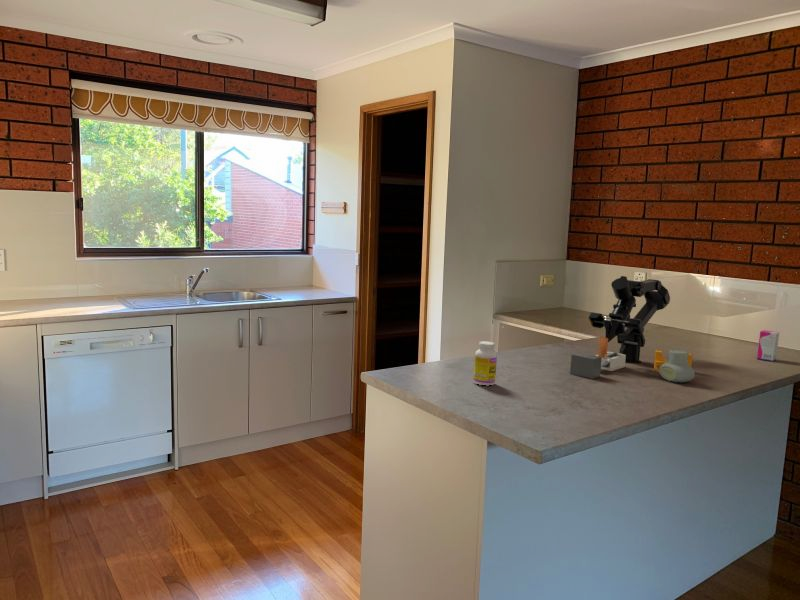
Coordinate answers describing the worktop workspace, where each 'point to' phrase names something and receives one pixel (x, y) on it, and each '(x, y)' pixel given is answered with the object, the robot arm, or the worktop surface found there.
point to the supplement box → (768, 345)
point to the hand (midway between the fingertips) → (606, 341)
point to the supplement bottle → (485, 364)
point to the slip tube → (605, 352)
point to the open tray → (615, 362)
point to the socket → (585, 365)
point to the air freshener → (677, 367)
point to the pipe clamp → (660, 361)
